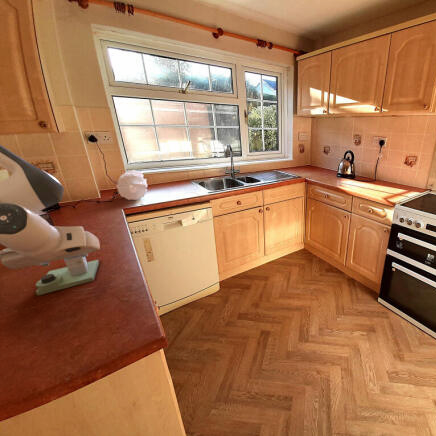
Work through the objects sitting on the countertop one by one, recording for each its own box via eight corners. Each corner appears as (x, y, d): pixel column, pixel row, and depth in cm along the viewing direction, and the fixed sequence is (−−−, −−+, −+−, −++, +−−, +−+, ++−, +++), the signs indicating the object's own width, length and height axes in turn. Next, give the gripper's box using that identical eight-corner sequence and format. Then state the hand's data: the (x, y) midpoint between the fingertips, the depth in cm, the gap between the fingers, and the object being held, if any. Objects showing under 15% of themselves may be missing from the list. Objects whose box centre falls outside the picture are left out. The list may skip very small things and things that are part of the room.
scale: (36, 296, 74) (32, 288, 73) (50, 274, 85) (46, 267, 84) (93, 281, 81) (90, 273, 80) (99, 262, 92) (96, 255, 91)
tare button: (41, 285, 75) (39, 280, 75) (44, 280, 78) (42, 275, 77) (54, 282, 77) (51, 277, 76) (56, 277, 79) (54, 272, 78)
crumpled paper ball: (130, 207, 164) (131, 196, 184) (153, 193, 168) (152, 184, 188) (108, 186, 154) (111, 177, 173) (134, 171, 158) (134, 163, 177)
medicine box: (72, 267, 87) (62, 245, 83) (87, 262, 89) (79, 241, 86) (71, 277, 81) (61, 254, 78) (88, 272, 84) (79, 250, 80)
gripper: (-13, 266, 59) (21, 279, 70) (91, 244, 68) (106, 258, 80) (-13, 243, 61) (20, 259, 72) (88, 224, 70) (103, 241, 82)
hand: (66, 259), depth 76 cm, fingers open, 8 cm apart
